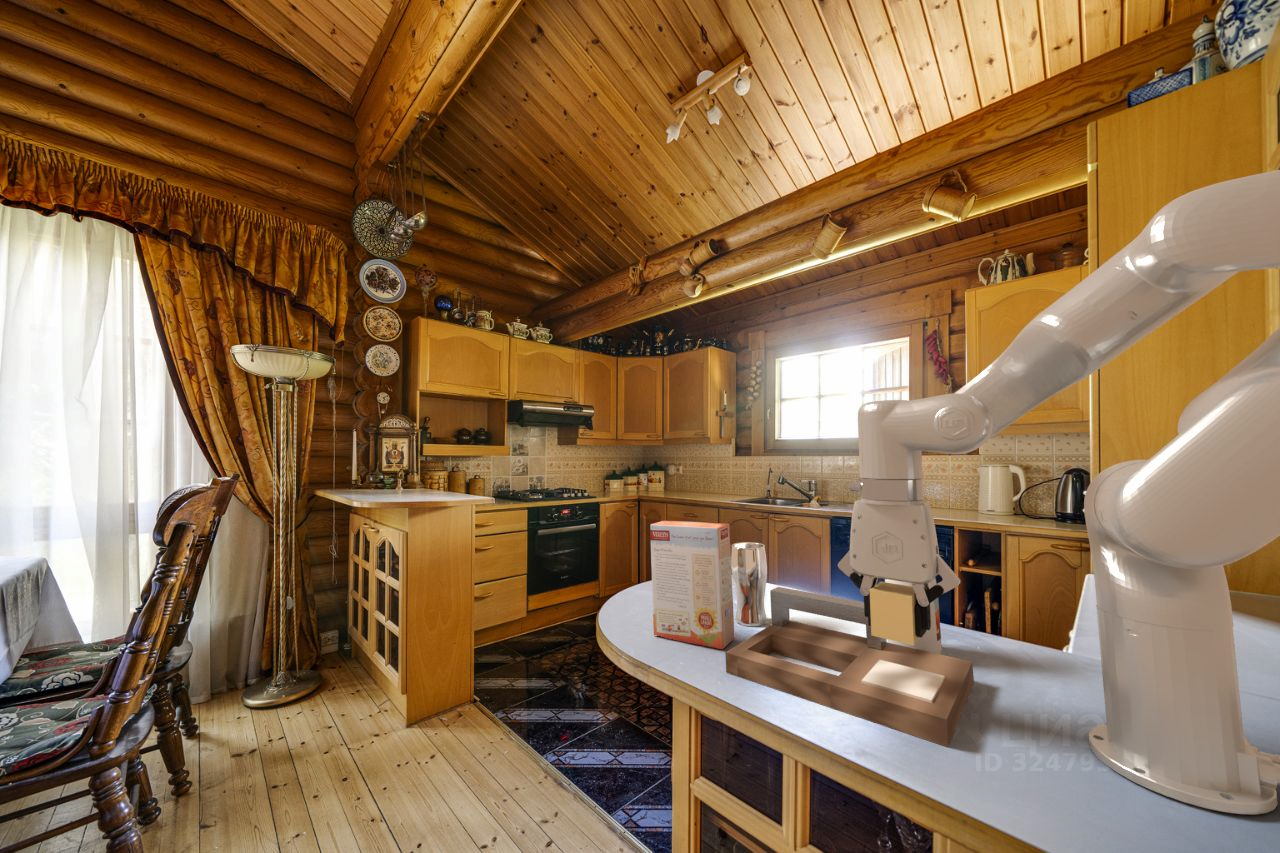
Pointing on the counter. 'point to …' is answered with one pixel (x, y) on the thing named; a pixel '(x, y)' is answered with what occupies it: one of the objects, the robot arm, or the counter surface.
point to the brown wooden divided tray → (860, 677)
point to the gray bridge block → (820, 609)
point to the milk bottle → (932, 636)
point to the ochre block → (893, 612)
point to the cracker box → (692, 582)
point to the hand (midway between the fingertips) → (897, 627)
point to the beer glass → (749, 582)
